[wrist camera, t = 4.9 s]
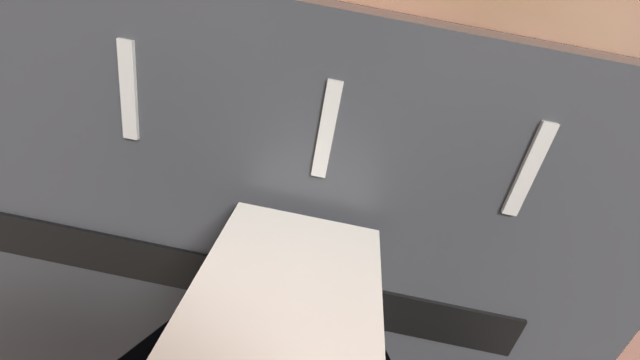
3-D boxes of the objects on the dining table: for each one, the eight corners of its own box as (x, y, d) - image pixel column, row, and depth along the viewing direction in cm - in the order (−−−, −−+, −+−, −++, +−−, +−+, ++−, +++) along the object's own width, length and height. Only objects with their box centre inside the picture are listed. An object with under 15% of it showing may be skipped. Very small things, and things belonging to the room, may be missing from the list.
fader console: (490, 415, 15) (513, 495, 12) (-144, 282, 15) (-236, 335, 13) (702, 70, 9) (824, 101, 6) (-353, -132, 9) (-592, -170, 7)
